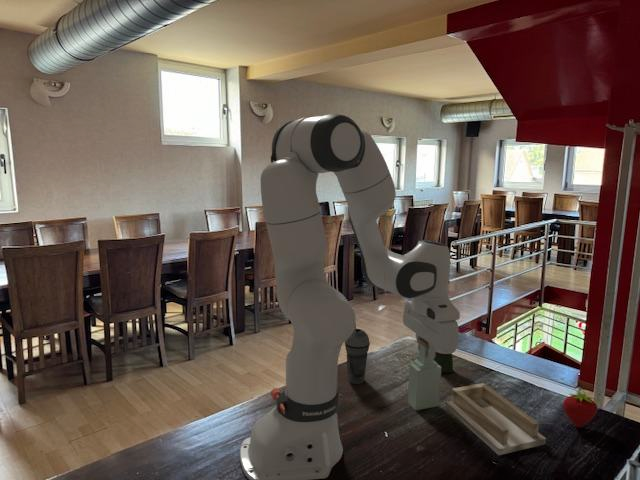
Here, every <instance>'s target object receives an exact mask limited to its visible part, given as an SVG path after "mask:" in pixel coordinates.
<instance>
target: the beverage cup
mask: <svg viewBox="0 0 640 480" xmlns="http://www.w3.org/2000/svg"><path fill="white" fill-rule="evenodd" d="M344 346H345V351H346V363H347V364H346V366H347V378H348V379H347V381H348V380H349V383H350V384H354V385H360V384H363V383H364V381H365V376H366V368H367V359H368V352H369V349H370V346H371V343H370V339H369V335H368V334H367V332H366V331H365V330H363V329H362V328H361V329H360V328H357V325H356V321H355V327H354V330H353V332H352V334H351V335H350V337H349V338H348V339H347V340H346V341H345V342H344Z"/></svg>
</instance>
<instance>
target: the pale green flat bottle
mask: <svg viewBox="0 0 640 480" xmlns="http://www.w3.org/2000/svg"><path fill="white" fill-rule="evenodd" d="M418 342H419V343H420V347H419V350H418V359H415V360H413V362H412V363H409V366H408V367H409V369H408V370H409V372H408V388H407V389H408V390H407V403H408V405H409V406H411V407H412V409H413V410H414V411H420V410H425V409H429V408H430V409H431V408H435V407H439V406H440V393H441V392H440V391H441V381H442V380H441V378H442V377H441V376H442V372H441V366H439V365H438V364H437V363H436V362H435V361H434V360H433V359H429V358H428V357H427V356H426V350H429V348H430V346H429V343H428V342H427V341H426V340H424V339H423V338H418Z"/></svg>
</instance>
